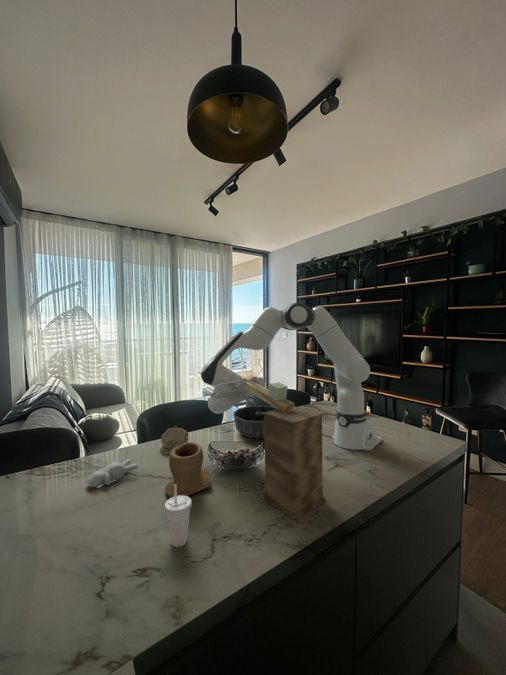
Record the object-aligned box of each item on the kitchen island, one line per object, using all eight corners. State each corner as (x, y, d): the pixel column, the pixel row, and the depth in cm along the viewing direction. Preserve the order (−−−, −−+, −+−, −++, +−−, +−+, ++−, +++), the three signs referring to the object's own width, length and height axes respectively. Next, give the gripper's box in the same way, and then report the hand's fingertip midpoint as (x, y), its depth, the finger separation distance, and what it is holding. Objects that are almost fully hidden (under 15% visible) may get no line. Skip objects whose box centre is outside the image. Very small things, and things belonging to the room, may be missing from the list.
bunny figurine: (83, 471, 99) (127, 452, 110) (86, 485, 100) (129, 465, 111) (92, 481, 93) (138, 460, 103) (95, 496, 93) (140, 473, 104)
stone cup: (173, 508, 85) (172, 457, 84) (161, 489, 95) (160, 443, 94) (220, 491, 93) (219, 444, 93) (205, 475, 103) (204, 433, 103)
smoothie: (168, 533, 75) (167, 478, 74) (194, 531, 75) (192, 477, 75) (163, 552, 68) (161, 493, 68) (191, 550, 69) (189, 491, 68)
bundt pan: (296, 429, 148) (296, 409, 148) (270, 447, 126) (270, 424, 126) (252, 420, 162) (251, 403, 162) (222, 436, 140) (221, 415, 140)
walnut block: (293, 483, 97) (292, 405, 96) (325, 501, 87) (324, 414, 86) (263, 497, 89) (261, 412, 88) (293, 519, 79) (292, 423, 78)
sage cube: (277, 394, 95) (279, 382, 94) (286, 398, 92) (287, 386, 91) (268, 396, 93) (269, 383, 92) (276, 400, 90) (277, 388, 89)
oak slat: (250, 386, 106) (251, 380, 106) (293, 411, 89) (294, 403, 89) (242, 388, 104) (243, 381, 104) (284, 413, 87) (285, 405, 87)
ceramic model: (154, 454, 121) (154, 430, 121) (165, 444, 132) (164, 422, 132) (188, 455, 120) (187, 431, 120) (195, 444, 131) (195, 422, 131)
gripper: (206, 389, 108) (222, 374, 98) (250, 382, 120) (269, 368, 111) (210, 405, 106) (228, 392, 96) (255, 396, 118) (275, 384, 108)
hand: (250, 379), depth 103 cm, fingers closed on oak slat, 3 cm apart
